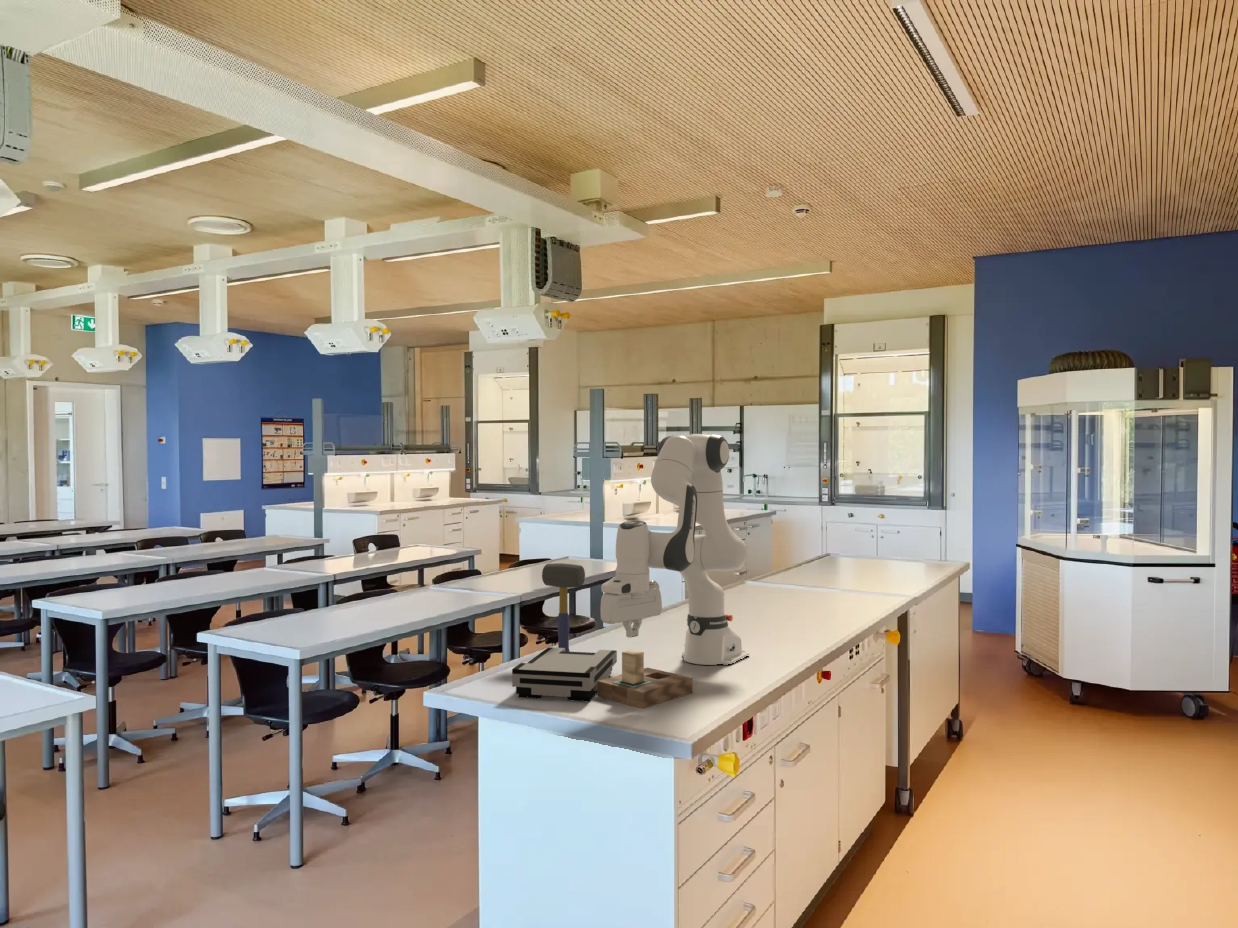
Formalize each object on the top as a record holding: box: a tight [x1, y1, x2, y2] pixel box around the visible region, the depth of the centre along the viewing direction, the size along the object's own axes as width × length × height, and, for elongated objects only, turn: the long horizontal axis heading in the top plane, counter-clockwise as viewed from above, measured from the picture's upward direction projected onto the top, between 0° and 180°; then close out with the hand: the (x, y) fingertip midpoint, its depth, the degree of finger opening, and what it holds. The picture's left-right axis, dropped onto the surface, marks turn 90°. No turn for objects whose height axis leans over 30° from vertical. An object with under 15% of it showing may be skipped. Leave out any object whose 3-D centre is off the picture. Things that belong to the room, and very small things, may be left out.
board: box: [596, 667, 694, 709], centre depth 220 cm, size 20×16×4 cm
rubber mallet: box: [541, 562, 586, 652], centre depth 260 cm, size 12×8×30 cm, turn 68°
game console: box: [511, 646, 618, 702], centre depth 229 cm, size 21×32×8 cm, turn 168°
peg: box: [621, 649, 645, 686], centre depth 217 cm, size 4×4×12 cm
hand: (632, 636), depth 217 cm, fingers closed
